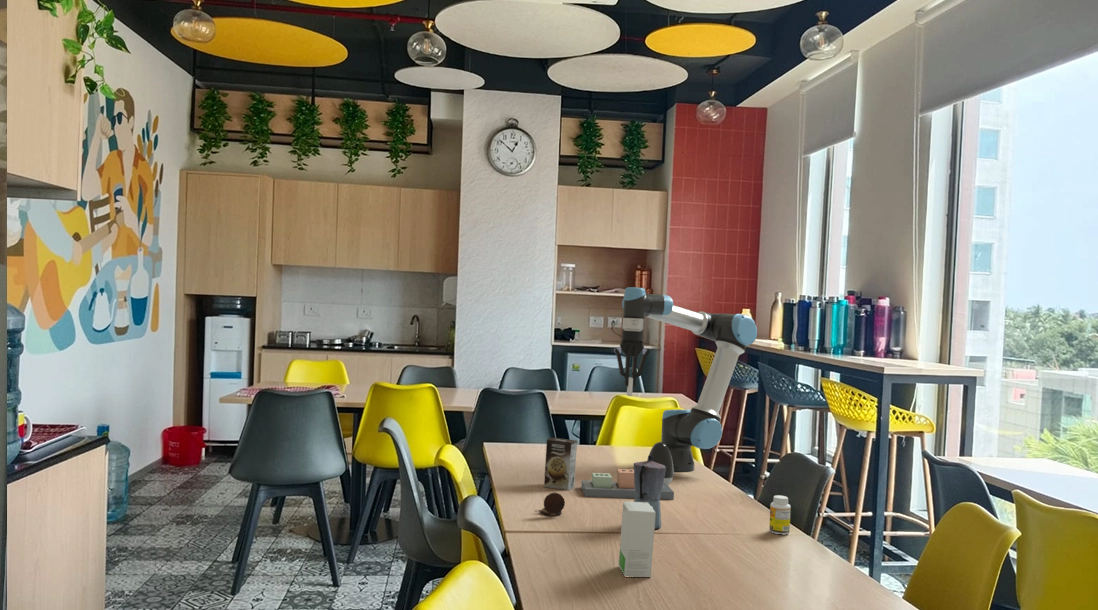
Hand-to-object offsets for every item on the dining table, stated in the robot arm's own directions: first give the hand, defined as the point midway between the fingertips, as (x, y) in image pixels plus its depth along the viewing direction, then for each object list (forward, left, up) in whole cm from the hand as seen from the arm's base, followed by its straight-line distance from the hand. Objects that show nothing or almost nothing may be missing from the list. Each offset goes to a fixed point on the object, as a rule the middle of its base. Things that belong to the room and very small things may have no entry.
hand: (629, 395), depth 289 cm
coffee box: (+25, +15, -31) cm, 42 cm away
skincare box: (+14, +101, -31) cm, 106 cm away
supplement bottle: (-34, +63, -31) cm, 78 cm away
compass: (+31, +51, -31) cm, 67 cm away
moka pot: (+4, +61, -31) cm, 68 cm away
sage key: (+11, +21, -30) cm, 38 cm away
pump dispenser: (-11, +6, -31) cm, 33 cm away
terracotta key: (+3, +21, -28) cm, 35 cm away
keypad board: (+3, +21, -30) cm, 37 cm away
